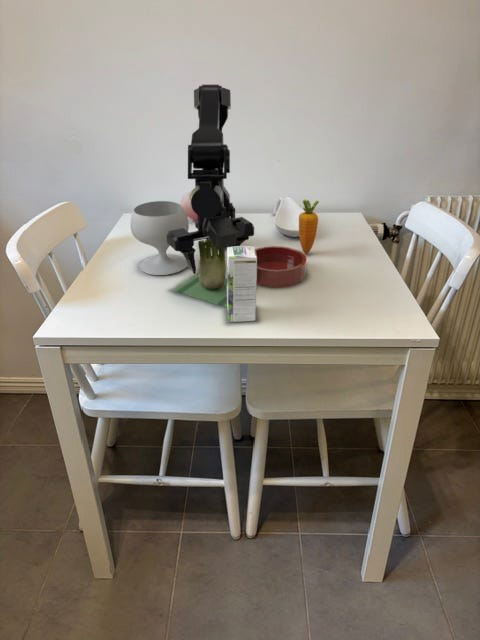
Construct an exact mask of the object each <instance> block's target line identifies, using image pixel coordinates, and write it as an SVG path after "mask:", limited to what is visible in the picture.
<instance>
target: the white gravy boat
mask: <svg viewBox="0 0 480 640" xmlns="http://www.w3.org/2000/svg"><path fill="white" fill-rule="evenodd" d="M273 207H274V208H273V214H274V220H273V221H274V222H273V223H274V226H275V228H276V229H277V231H278V232H279V233H281V234H283V235H284V236H286V237H292V238H299V215H300V214H301V213H303V212H306V211H305V210H304V209H303V207H301V206H300V205H299V204H298V202H296V201H295V200H294V199H293V198H292V197H290V196H288V197H287V196H286V197H278V198H277V200H276V202H275V204H274V206H273Z"/></svg>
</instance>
